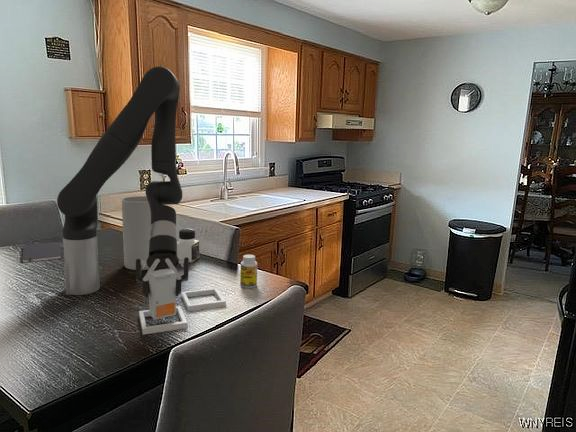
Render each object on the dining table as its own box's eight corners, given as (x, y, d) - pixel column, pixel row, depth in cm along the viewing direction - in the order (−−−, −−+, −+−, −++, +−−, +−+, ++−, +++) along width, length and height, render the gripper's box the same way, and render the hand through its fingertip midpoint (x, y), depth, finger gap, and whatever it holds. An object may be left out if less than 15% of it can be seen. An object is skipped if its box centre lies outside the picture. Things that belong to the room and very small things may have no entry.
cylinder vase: (116, 267, 150) (113, 199, 145) (140, 258, 162) (138, 195, 157) (144, 273, 146) (142, 203, 141) (167, 263, 157) (165, 198, 152)
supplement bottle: (237, 287, 137) (237, 257, 135) (244, 281, 142) (244, 252, 140) (253, 289, 135) (253, 259, 133) (259, 283, 140) (260, 254, 138)
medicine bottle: (191, 262, 159) (191, 232, 157) (174, 260, 161) (174, 230, 158) (199, 257, 166) (199, 228, 164) (182, 255, 167) (182, 226, 165)
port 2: (188, 311, 117) (188, 306, 117) (180, 294, 129) (180, 289, 129) (225, 305, 122) (225, 301, 122) (215, 290, 133) (215, 285, 133)
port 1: (142, 334, 103) (142, 329, 103) (138, 313, 115) (138, 308, 115) (187, 327, 108) (187, 322, 107) (179, 307, 119) (179, 302, 119)
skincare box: (154, 320, 107) (152, 276, 104) (149, 314, 110) (147, 271, 108) (177, 315, 110) (176, 272, 108) (171, 309, 114) (170, 267, 111)
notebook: (61, 259, 158) (59, 245, 176) (61, 255, 158) (58, 242, 176) (22, 263, 152) (23, 248, 169) (22, 259, 151) (23, 245, 169)
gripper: (134, 234, 111) (131, 292, 103) (189, 233, 115) (190, 288, 106) (137, 247, 117) (134, 303, 109) (189, 246, 121) (190, 299, 112)
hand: (162, 295), depth 108 cm, fingers closed on skincare box, 7 cm apart
